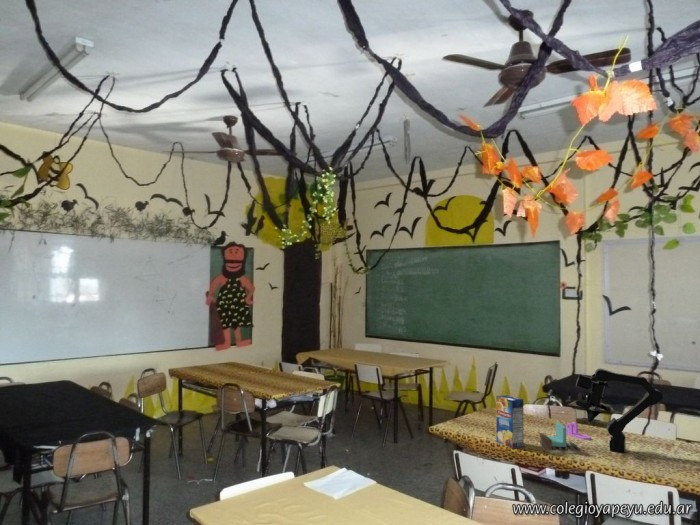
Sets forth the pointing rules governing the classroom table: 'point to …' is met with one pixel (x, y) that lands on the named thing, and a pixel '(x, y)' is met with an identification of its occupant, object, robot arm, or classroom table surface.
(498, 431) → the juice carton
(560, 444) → the teal l-shaped block
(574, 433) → the bracket
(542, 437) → the roller track
